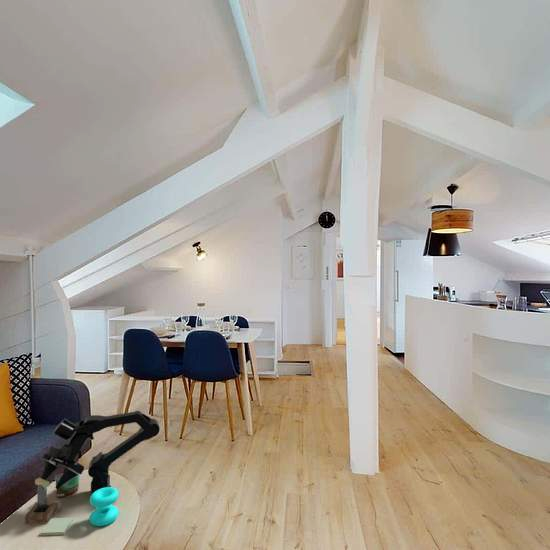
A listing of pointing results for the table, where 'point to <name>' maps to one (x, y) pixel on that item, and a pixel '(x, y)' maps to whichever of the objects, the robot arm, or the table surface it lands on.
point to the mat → (57, 526)
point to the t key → (41, 494)
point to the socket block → (41, 513)
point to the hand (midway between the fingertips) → (48, 485)
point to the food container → (67, 486)
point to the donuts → (104, 506)
